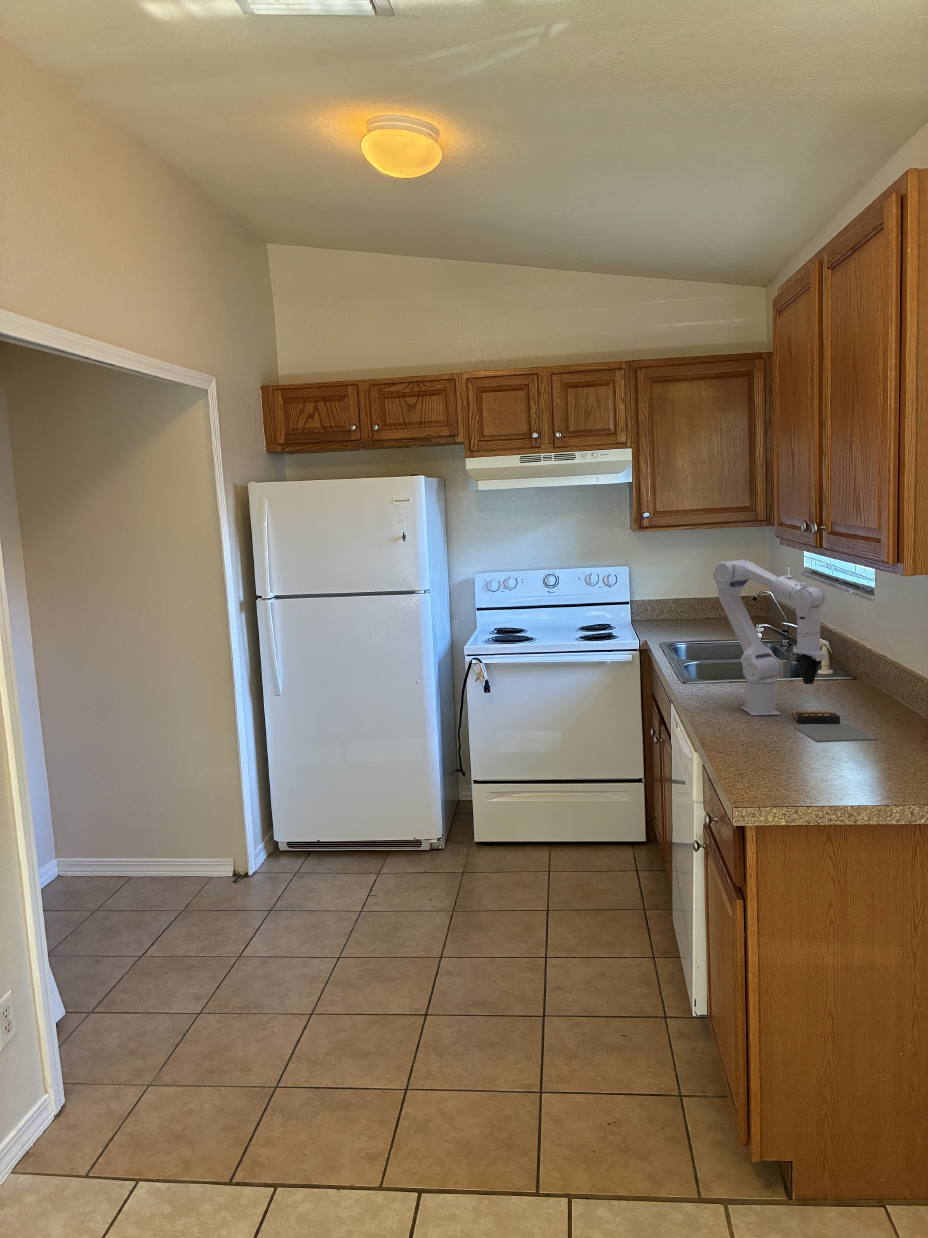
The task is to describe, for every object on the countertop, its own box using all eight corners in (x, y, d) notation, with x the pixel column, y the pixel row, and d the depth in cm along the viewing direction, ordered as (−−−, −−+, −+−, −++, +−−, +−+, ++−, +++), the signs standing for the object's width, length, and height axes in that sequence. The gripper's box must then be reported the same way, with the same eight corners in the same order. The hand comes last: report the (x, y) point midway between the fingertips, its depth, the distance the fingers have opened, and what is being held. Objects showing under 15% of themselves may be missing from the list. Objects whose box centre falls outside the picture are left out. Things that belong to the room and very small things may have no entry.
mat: (793, 727, 243) (793, 726, 243) (850, 725, 243) (850, 724, 243) (816, 742, 228) (816, 741, 228) (877, 740, 228) (877, 738, 228)
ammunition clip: (840, 723, 245) (829, 714, 256) (840, 716, 244) (829, 707, 256) (797, 723, 246) (789, 714, 258) (798, 716, 246) (789, 707, 258)
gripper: (782, 630, 252) (782, 679, 253) (806, 637, 238) (806, 689, 239) (807, 629, 252) (807, 678, 254) (832, 635, 238) (832, 687, 240)
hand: (808, 683), depth 247 cm, fingers closed
